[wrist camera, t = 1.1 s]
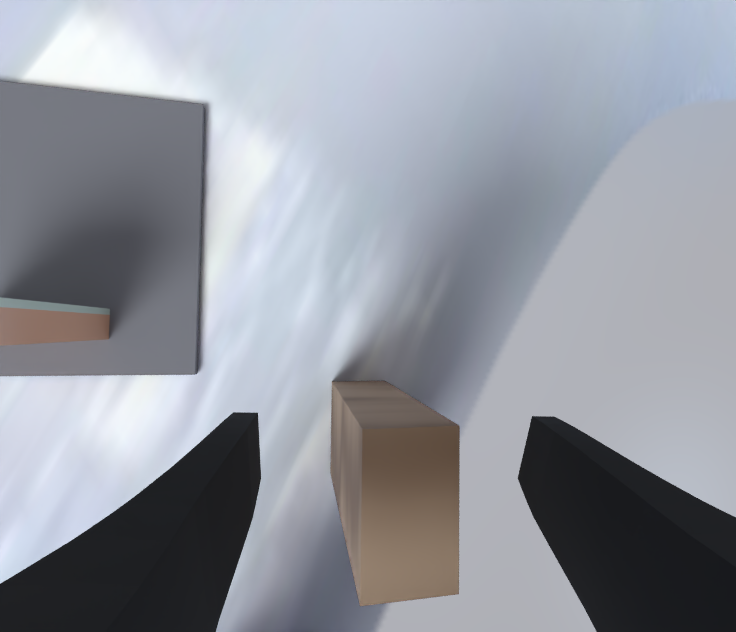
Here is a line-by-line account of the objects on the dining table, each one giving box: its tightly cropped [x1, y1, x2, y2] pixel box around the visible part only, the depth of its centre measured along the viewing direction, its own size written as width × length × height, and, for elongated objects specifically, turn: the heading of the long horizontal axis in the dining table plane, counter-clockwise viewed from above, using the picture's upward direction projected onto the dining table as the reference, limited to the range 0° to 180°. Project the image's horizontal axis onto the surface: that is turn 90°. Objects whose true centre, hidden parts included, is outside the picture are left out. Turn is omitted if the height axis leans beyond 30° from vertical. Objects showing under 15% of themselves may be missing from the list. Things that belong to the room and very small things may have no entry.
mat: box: [0, 81, 205, 376], centre depth 18 cm, size 14×13×1 cm
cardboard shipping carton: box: [331, 381, 459, 606], centre depth 16 cm, size 5×3×10 cm, turn 179°
